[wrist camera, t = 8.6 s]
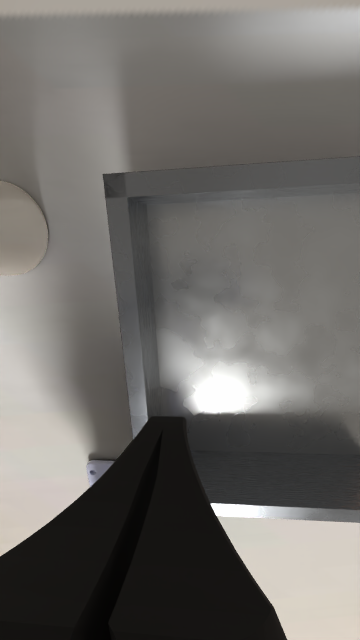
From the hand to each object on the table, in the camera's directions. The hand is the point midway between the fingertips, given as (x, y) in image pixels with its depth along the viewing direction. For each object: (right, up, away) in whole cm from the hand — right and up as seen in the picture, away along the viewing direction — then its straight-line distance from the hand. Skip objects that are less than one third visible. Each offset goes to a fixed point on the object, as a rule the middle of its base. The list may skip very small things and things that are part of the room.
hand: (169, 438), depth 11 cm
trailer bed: (+6, +3, +9) cm, 12 cm away
